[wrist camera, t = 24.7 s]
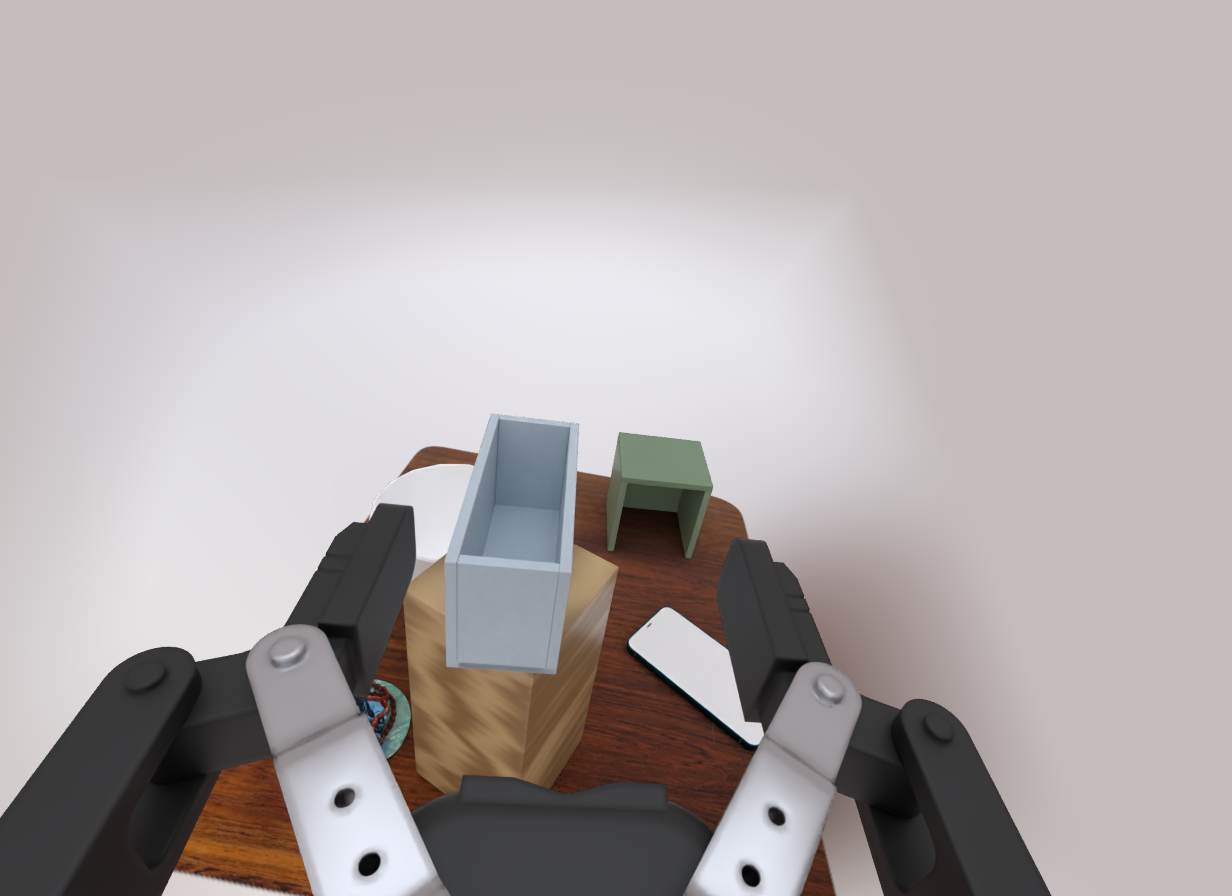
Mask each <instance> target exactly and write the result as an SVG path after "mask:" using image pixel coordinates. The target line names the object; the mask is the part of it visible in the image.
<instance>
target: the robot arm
mask: <svg viewBox="0 0 1232 896" xmlns="http://www.w3.org/2000/svg"><path fill="white" fill-rule="evenodd" d="M415 562H416V539H415V522H414V509H413V507H412V506H408V505H398V504H387V503H379V504H378V506H377V507H376V509H375V511H374V513H373V515H372V517H371V519H370V521H369V523H358V522H353V523H352V524H350V525H349V526H348V527H347V528H345V529H344V530H343V531H342V532H340V533H339V534H338V535H337V536H335V538H334V540H333V542H332V543H331V545H330V547H329V549H328V550H327V552H326V556H325V557H324V558H323V559H322V561H321V563H320V564H319V566H318V570H317V571H316V572H315V573H314V575H313V577H312V578H311V580H310V582H309V584H308V586H307V587H306V589H305V591H304V592H303V594H302V596H301V598H300V600H299V601H298V603H297V605H296V606H295V608H294V610H293V612H292V614H291V615H290V617H289V619H288V621H287V622H286V624H285V625H284V627H282V628H279V629H277V630H275V631H273V632H271V633H269V634H267V635H266V636H264V637H263V638H262V639H260V640H259V642H257V643H256V645H254V647H253V648H252V649H251V650H249V651H246V652H243V653H239V654H234V655H229V656H224V657H219V658H214V659H208V660H203V661H198V662H195V660H194V658H193V657H192V655H191V654H190V653H189V652H188V651H186V650H184V649H181V648H177V647H160V648H154V649H150V650H147V651H144V652H141V653H138V654H136V655H134V656H132V657H130V658H128V659H127V660H125V661H123V662H122V663H120V664H119V665H118V666H116V667H115V668H114V669H113V670H112V671H111V672H110V673H108V675H107V676H106V677H105V678H104V679H103V681H102V682H101V683H100V685H99V686H98V687H97V689H96V690H95V691H94V693H93V694H92V695H91V697H90V698H89V700H88V701H87V702H86V703H85V705H84V706H83V708H82V709H81V710H80V712H79V713H78V714H77V716H76V717H75V718H74V720H73V721H72V722H71V724H70V725H69V727H68V728H67V729H66V730H65V732H64V733H63V735H62V736H61V737H60V738H59V740H58V741H57V742H56V744H55V745H54V746H53V748H52V749H51V750H50V752H49V753H48V755H47V756H46V757H45V759H44V760H43V761H42V763H41V764H40V766H39V767H38V768H37V769H36V771H35V772H34V773H33V775H32V776H31V777H30V779H29V780H28V781H27V783H26V784H25V786H24V787H23V788H22V789H21V791H20V792H19V794H18V795H17V796H16V798H15V799H14V800H13V802H12V803H11V804H10V806H9V807H8V808H7V810H6V811H5V812H4V814H3V815H2V816H1V818H0V896H161V895H162V893H163V891H164V889H165V887H166V885H167V883H168V880H169V879H170V877H171V874H172V872H173V870H174V868H175V866H176V864H177V862H178V860H179V858H180V856H181V854H182V852H183V849H184V847H185V845H186V843H187V841H188V839H189V837H190V835H191V833H192V831H193V829H194V827H195V824H196V822H197V820H198V818H199V816H200V814H201V812H202V810H203V808H204V806H205V804H206V801H207V799H208V797H209V795H210V793H211V791H212V789H213V787H214V785H215V783H216V781H217V778H218V776H219V774H220V772H221V770H223V769H227V768H231V767H235V766H239V765H243V764H247V763H251V762H255V761H258V760H262V759H266V758H270V757H272V758H273V762H274V766H275V769H276V772H277V776H278V779H279V782H280V786H281V789H282V792H283V796H284V799H285V802H286V806H287V809H288V812H289V816H290V819H291V822H292V825H293V829H294V832H295V835H296V839H297V842H298V845H299V849H300V852H301V855H302V859H303V862H304V865H305V869H306V872H307V875H308V878H309V882H310V885H311V888H312V892H313V895H314V896H800V895H801V893H802V890H803V887H804V884H805V881H806V878H807V876H808V873H809V870H810V867H811V864H812V861H813V859H814V856H815V853H816V850H817V847H818V844H819V842H820V839H821V836H822V833H823V830H824V827H825V825H826V822H827V819H828V816H829V813H830V810H831V808H832V805H833V802H834V799H835V796H836V792H838V793H841V794H843V795H846V796H848V797H851V798H853V799H855V802H856V805H857V808H858V812H859V815H860V818H861V822H862V825H863V828H864V832H865V835H866V838H867V841H868V845H869V848H870V851H871V854H872V858H873V861H874V864H875V868H876V871H877V874H878V877H879V881H880V884H881V887H882V891H883V894H884V896H1051V894H1050V892H1049V890H1048V888H1047V886H1046V884H1045V882H1044V880H1043V878H1042V876H1041V874H1040V872H1039V871H1038V868H1037V867H1036V865H1035V863H1034V861H1033V859H1032V857H1031V855H1030V853H1029V851H1028V849H1027V847H1026V845H1025V843H1024V841H1023V839H1022V837H1021V836H1020V833H1019V831H1018V829H1017V827H1016V826H1015V823H1014V822H1013V820H1012V818H1011V816H1010V814H1009V812H1008V810H1007V808H1006V806H1005V804H1004V802H1003V800H1002V798H1001V796H1000V794H999V792H998V790H997V788H996V786H995V784H994V782H993V781H992V778H991V777H990V775H989V773H988V771H987V769H986V767H985V765H984V763H983V761H982V759H981V757H980V755H979V753H978V751H977V749H976V747H975V745H974V743H973V741H972V739H971V737H970V735H969V734H968V732H967V730H966V729H965V727H964V726H963V724H962V723H961V722H960V721H959V720H958V719H957V718H956V717H955V716H954V715H953V714H952V713H951V712H949V711H948V710H947V709H945V708H944V707H942V706H940V705H938V704H936V703H934V702H931V701H928V700H924V699H914V700H910V701H908V702H907V703H906V704H905V705H904V706H903V708H902V709H901V710H900V709H897V708H894V707H892V706H889V705H886V704H883V703H881V702H878V701H875V700H873V699H870V698H868V697H865V696H863V695H861V694H859V691H858V689H857V688H856V686H855V684H854V683H853V682H852V681H851V679H850V678H849V677H848V676H847V675H845V674H844V673H843V672H842V671H840V670H839V669H837V668H835V667H833V666H832V664H831V662H830V659H829V657H828V654H827V652H826V649H825V647H824V644H823V642H822V639H821V637H820V634H819V632H818V629H817V627H816V624H815V622H814V619H813V617H812V615H811V613H809V610H810V609H809V607H808V604H807V602H806V599H804V594H803V592H802V589H801V587H800V584H799V582H798V579H797V578H796V577H795V575H794V574H793V573H792V572H791V571H790V570H789V569H788V567H787V566H786V565H785V564H784V563H780V562H773V559H772V557H771V554H770V551H769V548H768V546H767V544H766V542H765V541H761V540H751V539H741V538H735V539H734V540H733V541H732V544H731V546H730V549H729V552H728V555H727V558H726V560H725V563H724V566H723V569H722V572H721V575H720V577H719V581H718V586H717V602H718V607H719V611H720V616H721V620H722V625H723V629H724V633H725V638H726V642H727V646H728V651H729V655H730V659H731V664H732V668H733V672H734V677H735V681H736V686H737V690H738V694H739V699H740V703H741V707H742V712H743V716H744V720H745V722H754V723H761V725H762V728H763V732H764V736H763V738H762V739H761V741H760V743H759V745H758V747H757V749H756V751H755V753H754V755H753V757H752V759H751V761H750V763H749V765H748V767H747V768H746V770H745V772H744V774H743V776H742V778H741V780H740V782H739V784H738V786H737V788H736V790H735V792H734V794H733V796H732V798H731V800H730V801H729V803H728V805H727V807H726V809H725V811H724V813H723V815H722V817H721V819H720V821H719V823H718V824H717V826H716V828H715V830H714V831H713V830H712V829H711V828H710V827H709V826H708V825H707V824H706V823H705V822H704V821H702V820H701V819H700V818H699V817H698V816H696V815H695V814H693V813H692V812H690V811H689V810H687V809H685V808H683V807H681V806H679V805H677V804H675V803H673V802H670V801H668V794H667V784H648V783H627V782H616V783H612V784H608V785H604V786H599V787H595V788H591V789H587V790H583V791H578V792H574V793H569V794H564V793H560V792H557V791H554V790H551V789H548V788H545V787H542V786H539V785H536V784H533V783H530V782H527V781H524V780H521V779H518V778H515V777H500V776H479V775H463V776H462V781H461V786H460V791H457V792H453V793H449V794H446V795H443V796H441V797H438V798H436V799H434V800H432V801H430V802H428V803H426V804H424V805H422V806H421V807H419V808H418V809H416V810H415V811H413V812H412V813H410V811H409V809H408V807H407V804H406V802H405V800H404V798H403V795H402V793H401V791H400V789H399V786H398V784H397V782H396V780H395V778H394V775H393V773H392V771H391V769H390V766H389V764H388V762H387V760H386V757H385V755H384V753H383V751H382V748H381V746H380V744H379V742H378V739H377V737H376V735H375V733H374V731H373V728H372V726H371V724H370V722H369V720H368V718H367V716H366V714H365V713H364V712H363V711H362V712H360V710H359V709H358V706H357V704H356V702H355V700H354V697H368V695H369V692H370V690H371V687H372V684H373V682H374V679H375V676H376V673H377V671H378V668H379V665H380V663H381V660H382V657H383V655H384V652H385V649H386V646H387V644H388V641H389V638H390V636H391V633H392V630H393V628H394V625H395V622H396V619H397V617H398V614H399V611H400V609H401V606H402V603H403V601H404V598H405V595H406V593H407V590H408V587H409V584H410V582H411V579H412V576H413V573H414V568H415Z"/></svg>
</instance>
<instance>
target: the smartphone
mask: <svg viewBox="0 0 1232 896" xmlns="http://www.w3.org/2000/svg"><path fill="white" fill-rule="evenodd" d="M627 650H628V652H630V653H631V654H632V655H633V656H634V657H635V658H637V659H638V660H639V661H640V662H641V663H643V664H644V665H645V666H646V667H648V668H649V669H650V670H651V671H652V672H654V673H655V674H656V675H657V676H659V677H660V678H661V679H662V680H663V681H665V682H666V683H667V684H668V685H670V686H671V687H672V688H673V689H674V690H676V691H677V692H678V693H679V694H681V695H682V696H683V697H684V698H685V699H687V700H688V701H689V702H690V703H692V704H693V705H694V706H695V707H696V708H698V709H699V710H700V711H701V712H703V713H704V714H705V715H706V716H707V717H709V718H710V719H711V720H712V721H714V722H715V723H716V724H717V725H718V726H720V727H721V728H722V729H723V730H725V731H726V732H727V733H728V734H729V735H731V736H732V737H733V738H734V739H736V740H737V741H738V742H739V743H740V744H742V745H743V746H744V747H746V748H747V749H749V750H756V749H757V747H758V745H759V743H760V741H761V739H762V738H763V736H764V732H763V728H762V725H761V723H754V722H745V720H744V716H743V712H742V707H741V703H740V699H739V694H738V690H737V686H736V681H735V677H734V672H733V668H732V664H731V659H730V655H729V651H728V649H727V648H726V647H725V646H723V645H722V644H721V643H719V642H718V641H716V640H715V639H714V638H712V637H711V636H710V635H708V634H707V633H706V632H704V631H703V630H701V629H700V628H699V627H697V626H696V625H695V624H693V623H692V622H691V621H689V620H688V619H687V618H685V617H684V616H682V615H681V614H680V613H678V612H677V611H676V610H674V609H673V608H671V607H662V608H661V609H660V610H659V611H658V612H657V613H656V614H654V615H653V616H652V617H651V618H650V619H649V620H648V621H647V622H646V623H645V624H644V625H643V626H642V627H640V628H639V629H638V630H637V631H636V632H635V633H634V634H633V635H632V636H631V637H630V638H629V639H628V642H627Z"/></svg>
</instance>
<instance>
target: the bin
mask: <svg viewBox="0 0 1232 896" xmlns="http://www.w3.org/2000/svg"><path fill="white" fill-rule="evenodd" d="M578 436H579V424H577V423H568V422H560V421H550V420H543V419H534V418H525V417H516V416H507V415H499V414H491V415H490V418H489V422H488V425H487V428H486V431H485V434H484V437H483V441H482V444H481V447H480V450H479V453H478V456H477V460H476V463H475V466H474V469H473V472H472V475H471V479H470V482H469V485H468V488H467V491H466V494H465V498H464V501H463V504H462V507H461V510H460V513H459V517H458V520H457V523H456V526H455V529H454V532H453V536H452V539H451V542H450V545H449V548H448V552H447V555H446V558H445V561H444V576H445V629H446V666H447V667H456V668H470V669H484V670H499V671H514V672H529V673H543V674H556V671H557V665H558V658H559V652H560V645H561V639H562V632H563V626H564V619H565V613H566V606H567V600H568V593H569V587H570V580H571V574H572V555H573V535H574V515H575V496H576V476H577V456H578Z"/></svg>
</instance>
